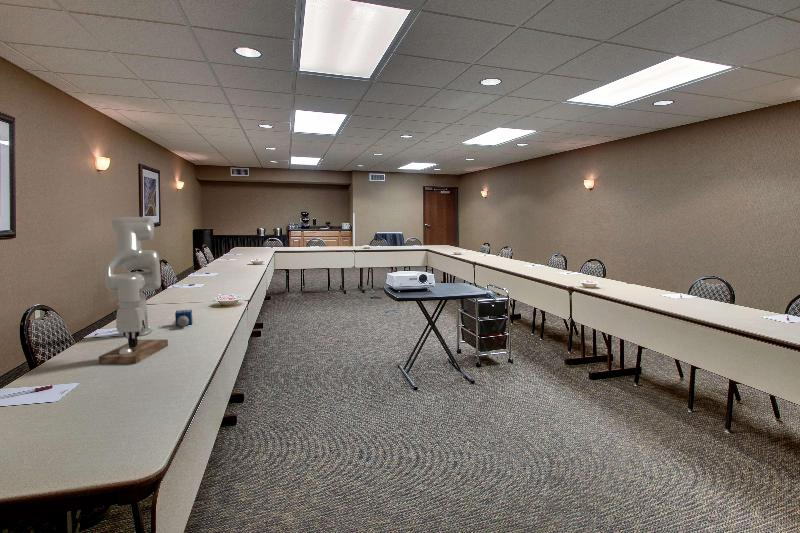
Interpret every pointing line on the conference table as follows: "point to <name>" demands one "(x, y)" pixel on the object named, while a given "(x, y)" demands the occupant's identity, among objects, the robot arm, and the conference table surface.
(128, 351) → the ball
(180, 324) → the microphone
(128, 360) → the deck
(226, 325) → the conference table surface
